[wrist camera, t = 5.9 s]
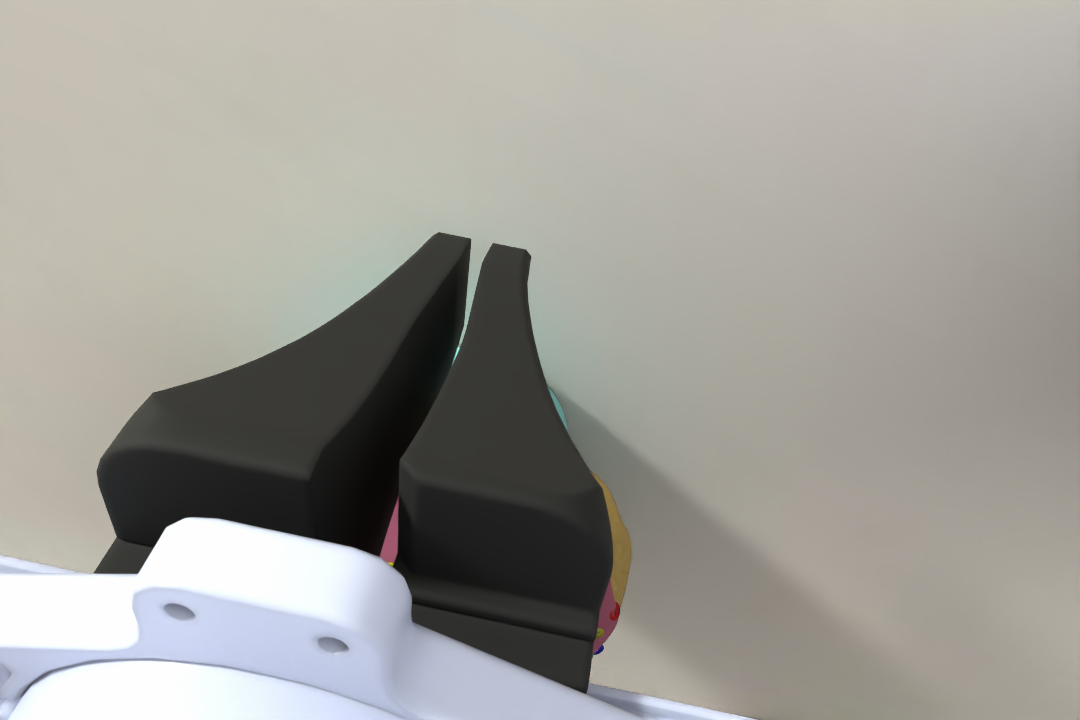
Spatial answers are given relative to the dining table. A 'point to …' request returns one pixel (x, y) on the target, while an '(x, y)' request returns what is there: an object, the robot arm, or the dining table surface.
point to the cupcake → (620, 556)
